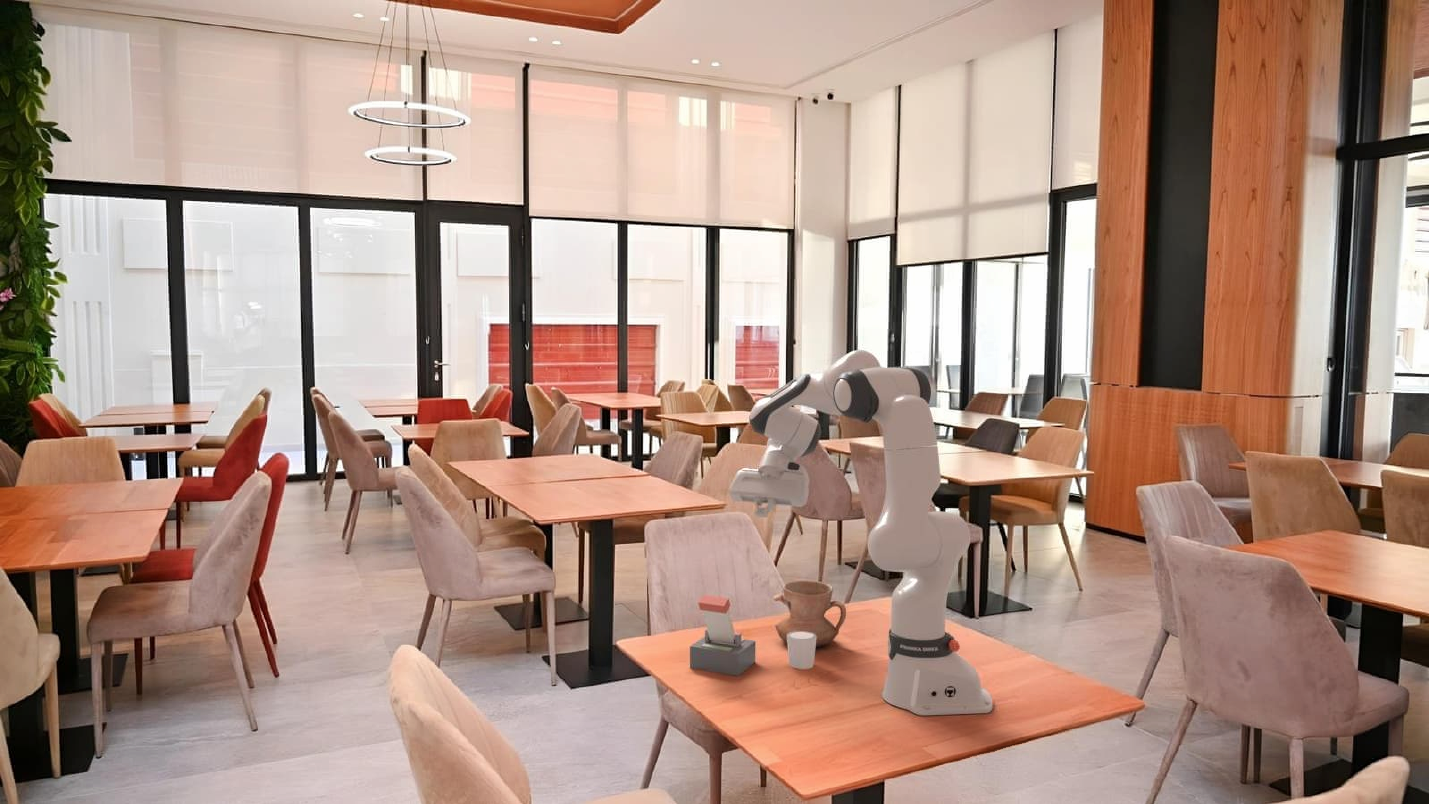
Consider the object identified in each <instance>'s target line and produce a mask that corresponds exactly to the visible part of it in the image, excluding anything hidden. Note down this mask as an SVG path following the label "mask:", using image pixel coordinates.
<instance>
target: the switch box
mask: <svg viewBox="0 0 1429 804" xmlns="http://www.w3.org/2000/svg"><path fill="white" fill-rule="evenodd" d="M754 662H755V663H756V640H751V639H746V638H745V639H744V638H742V632H737V633H735V644H729V643H723V642H716V641H711V640H710V638H709V634H708V631H707V628H706V629H705V630H704V636H703V637H702V638H700V639H699V640H698V641H696V642H695V643H692V644H691V645H690V646H689V668H690V669H694V670H695V669H696V670H700V669H702V671H706V672H707V671H708V672H714V673H719V674H725V675H730V676H734V677H735V676H736V677H738V676H740V675H741V674H743V673H744V672H745V671H746V670H747V669H749V668H750V667H751V666H752V665H754V664H755V663H754ZM753 663H754V664H753ZM745 669H746V670H745ZM744 670H745V671H744Z"/></svg>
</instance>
